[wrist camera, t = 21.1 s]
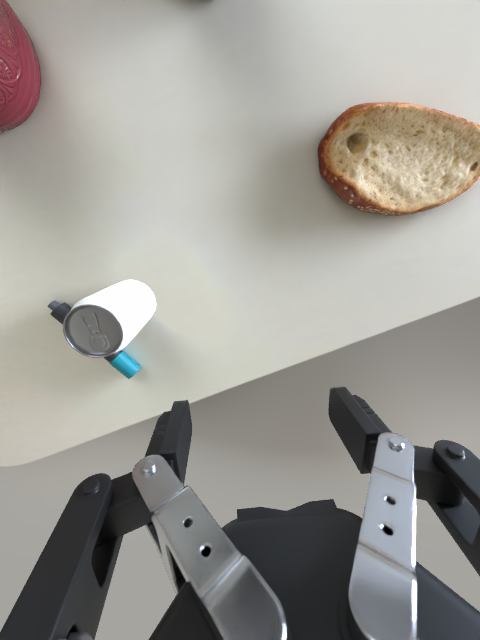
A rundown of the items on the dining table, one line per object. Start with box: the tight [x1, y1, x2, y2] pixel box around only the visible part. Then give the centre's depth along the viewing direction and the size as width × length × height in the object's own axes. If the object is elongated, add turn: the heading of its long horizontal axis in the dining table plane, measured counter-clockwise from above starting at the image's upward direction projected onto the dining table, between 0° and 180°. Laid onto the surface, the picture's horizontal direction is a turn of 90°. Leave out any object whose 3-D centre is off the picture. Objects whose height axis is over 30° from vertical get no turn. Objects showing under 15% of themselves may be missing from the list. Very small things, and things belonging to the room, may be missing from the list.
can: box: [63, 280, 156, 358], centre depth 30 cm, size 6×6×12 cm
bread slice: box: [318, 103, 480, 215], centre depth 31 cm, size 18×18×4 cm
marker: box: [48, 301, 140, 379], centre depth 36 cm, size 15×2×2 cm
